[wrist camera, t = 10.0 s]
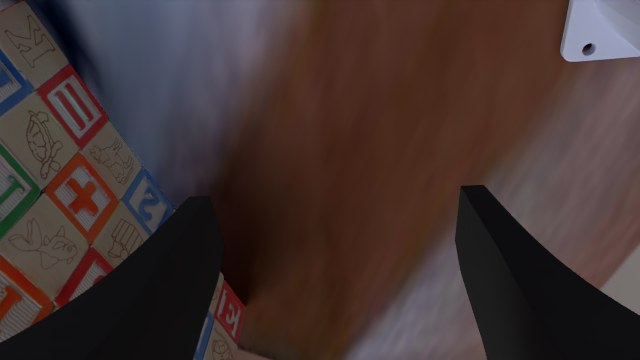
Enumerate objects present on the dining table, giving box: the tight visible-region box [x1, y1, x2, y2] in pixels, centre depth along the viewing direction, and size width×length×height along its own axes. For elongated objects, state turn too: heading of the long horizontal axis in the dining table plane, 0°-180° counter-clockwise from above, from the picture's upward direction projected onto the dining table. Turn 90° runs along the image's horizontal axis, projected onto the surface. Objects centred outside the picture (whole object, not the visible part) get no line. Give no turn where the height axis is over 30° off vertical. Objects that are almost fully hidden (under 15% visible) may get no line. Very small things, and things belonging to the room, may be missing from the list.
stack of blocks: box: [0, 1, 246, 360], centre depth 21 cm, size 21×6×12 cm, turn 22°
